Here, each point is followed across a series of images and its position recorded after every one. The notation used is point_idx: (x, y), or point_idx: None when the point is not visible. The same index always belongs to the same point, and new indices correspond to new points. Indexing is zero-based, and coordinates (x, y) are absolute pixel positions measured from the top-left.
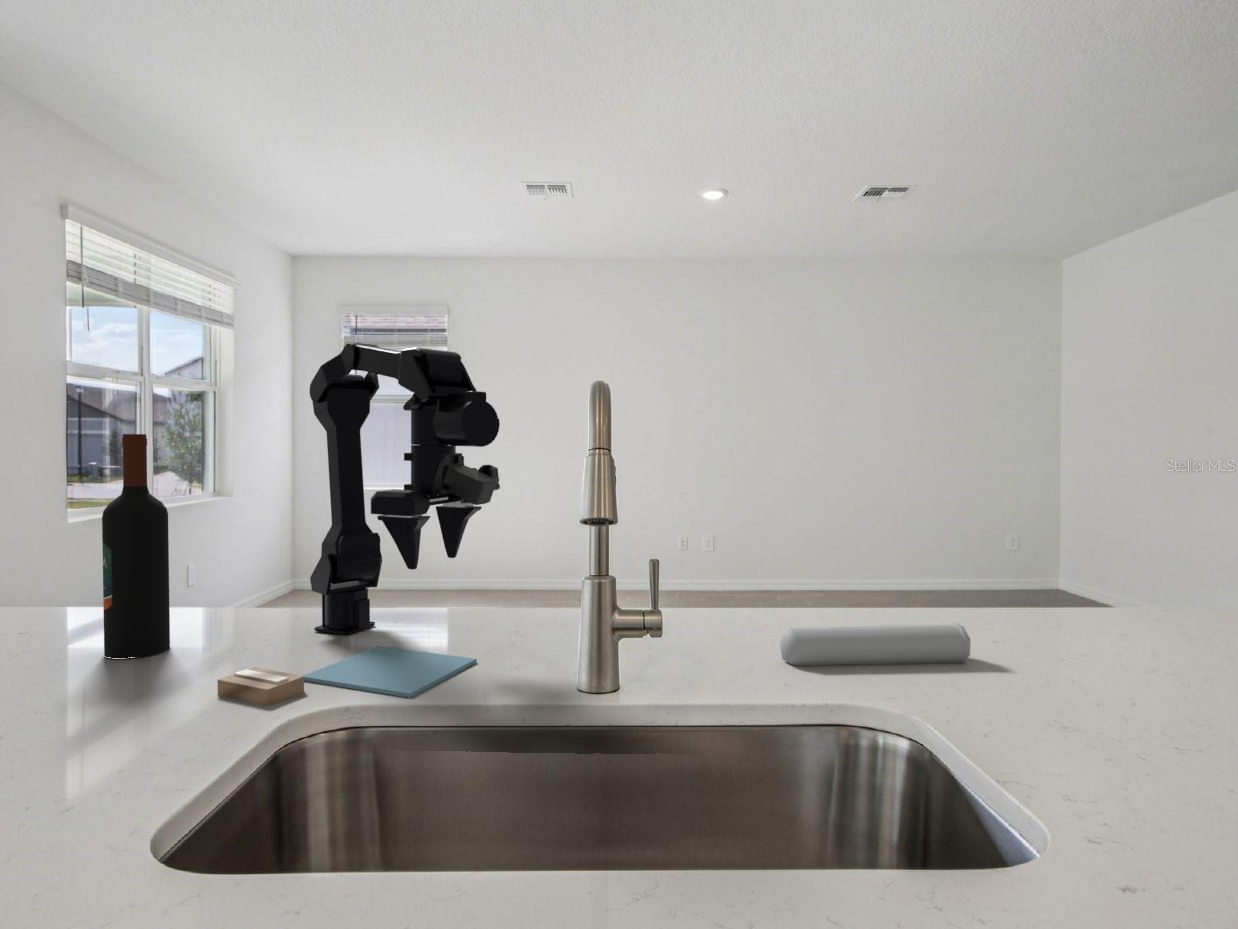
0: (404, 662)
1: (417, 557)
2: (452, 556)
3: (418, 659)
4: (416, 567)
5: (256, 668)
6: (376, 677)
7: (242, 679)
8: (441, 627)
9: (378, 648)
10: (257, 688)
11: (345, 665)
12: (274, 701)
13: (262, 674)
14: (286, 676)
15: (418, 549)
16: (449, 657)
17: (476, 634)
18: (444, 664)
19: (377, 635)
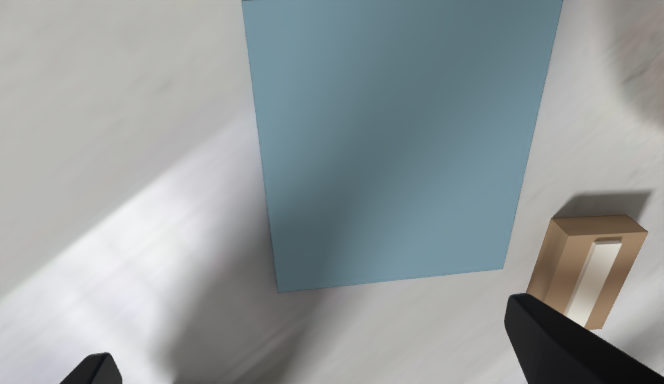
0: (359, 162)
1: (565, 333)
2: (110, 366)
3: (324, 149)
4: (520, 296)
5: None
6: (476, 143)
7: (597, 302)
8: (37, 294)
9: (293, 279)
10: (637, 251)
11: (421, 252)
12: (614, 217)
13: (584, 291)
14: (574, 259)
15: (609, 371)
16: (271, 87)
17: (11, 179)
18: (332, 58)
19: (193, 353)
